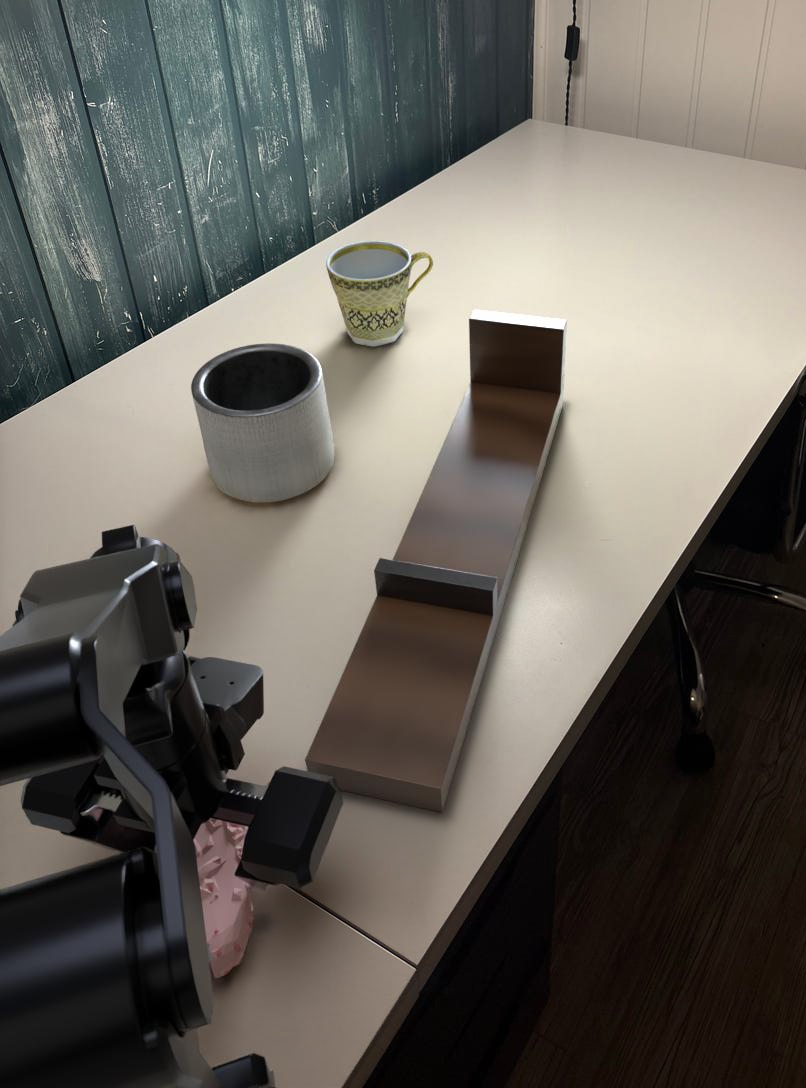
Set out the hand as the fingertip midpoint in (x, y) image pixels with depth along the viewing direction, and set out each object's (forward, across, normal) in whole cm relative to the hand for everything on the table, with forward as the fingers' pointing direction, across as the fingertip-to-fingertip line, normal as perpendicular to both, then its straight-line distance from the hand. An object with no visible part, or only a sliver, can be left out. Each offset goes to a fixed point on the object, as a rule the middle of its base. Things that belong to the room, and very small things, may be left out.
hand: (210, 869), depth 63 cm
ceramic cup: (+1, +10, -69) cm, 70 cm away
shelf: (+1, -9, -33) cm, 34 cm away
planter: (+1, +13, -41) cm, 43 cm away
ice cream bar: (+1, 0, 0) cm, 1 cm away
